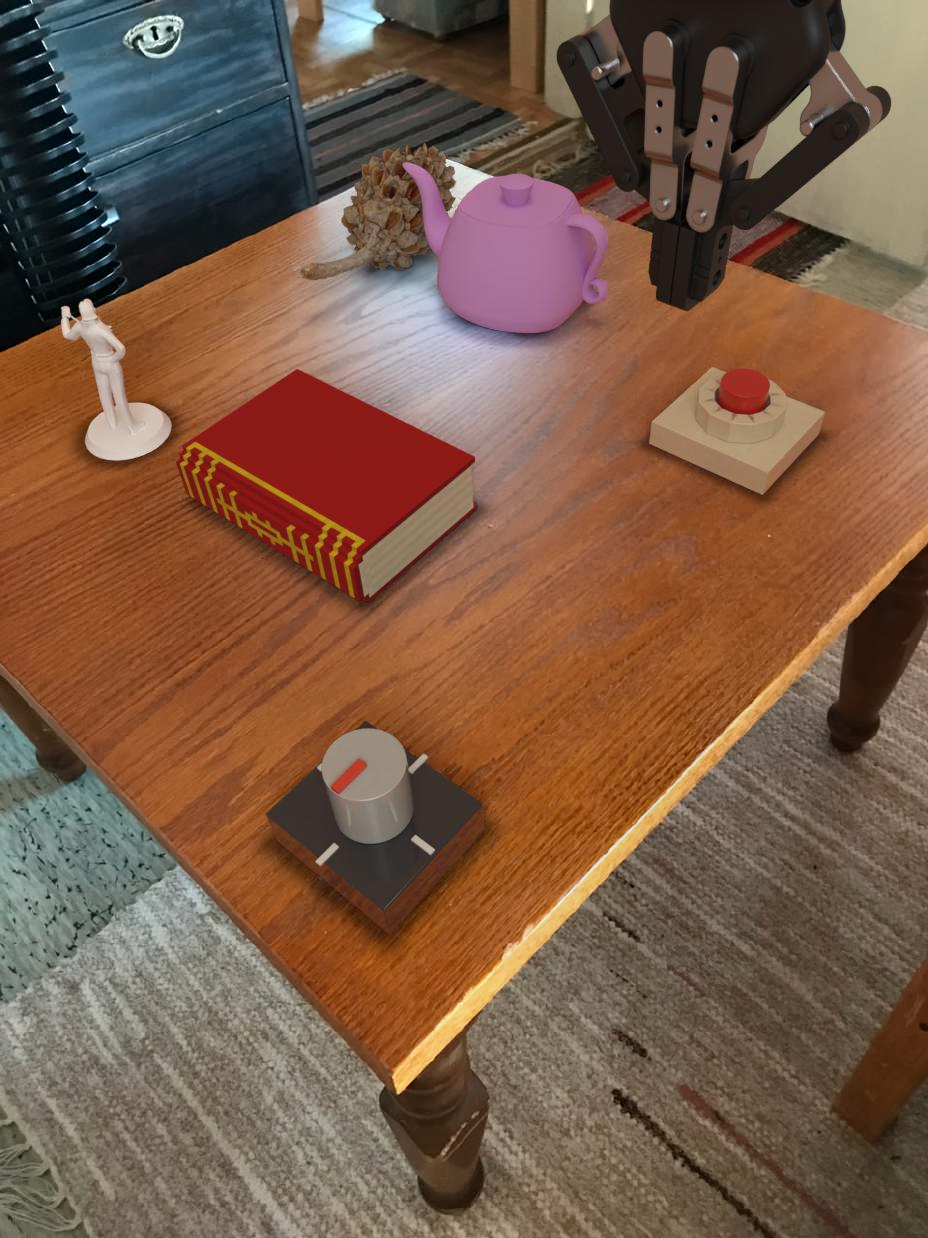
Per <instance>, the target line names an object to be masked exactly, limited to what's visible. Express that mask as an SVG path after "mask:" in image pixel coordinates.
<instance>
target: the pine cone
mask: <svg viewBox="0 0 928 1238" xmlns="http://www.w3.org/2000/svg"><path fill="white" fill-rule="evenodd" d="M439 151H440V148H436V146H434V145H431V146H430V147H429V148H428V147H427V144H426V142H425V141H424V142H423V143H422V146H419V147H417V149H415V150H413V152H412V151H411V147H410V145H409V143H408V144H406V147H405V150H403V151H402V149H401V147H398V148H397V149H396V150H394V151H393V150H392V149H390V148H386V149H383V151H382V154H381V155H382V157H381V158H379V157H377V156H374V155H372V156H371V158H370V160H369V162H368V163H362V164H361V180H359V181H357V182H355V183H354V190H355V192H356V195H350V200H351V203H352V204H351V205H348V206H345V207H343V214H342V217H341V219H340V222H341V224H342V225H343V227H345V228H346V230H347V232H348V233H349V236H347V237H346V241H347V242H348V244H350V245H352V246H354V249H353V251H356V252H354V253H352V254H350V255H348V256H346V257H342V258H340V259H337V260H333V261H328V262H324V263H323V262H311V263H310V264H308V263H304V262H303V263H301V264H300V265H298V266H297V267H296V268H295V269H293V270H292V271H293V272H295V271H299V270H300V271H299V273H298V275H297V277H298V278H301V279H305V280H309V281H318V280H326V279H328V278H334V277H337V276H339V275H342V274H343V273H344V274H345V273H347V272H350V271H353V270H354V269H357V268H359V267H361V266H364V265H365V264H367V263H371V265H372V266H373V268H375V270H377V269H379V270H381V271H383V272H384V271H385V270H387V267H388V266H391V267H393V268H395V269H396V270H398V271H401V272H402V271H403V270H404V268H409V267H411V265H412V264H413V258H412V256H418V255H419V256H420V255H426V254H427V253H428V250H429V249H431V248H430V246H429V244H428V241H427V239H426V235H425V231H424V223H423V209H422V201H421V195H420V192H419V189H418V187H417V185H416V183H415V181H414V179H413V178H412V177H411V176H410V175H409V173H408V172H407V171H406V170H405V169H404V168H403V165H402V164H403V163H406V162H407V163H412V164H415V165H418V166H420V167H422V168H423V169H425V170H426V171H427V172H428V173H429V174H430V175H431V176H432V178H433V179H434V181H435V183H436V185H437V187H438V190H439V193H440V196H441V199H442V202H443V205H444V208H445V210H446V212H447V213H448V212H450V210H451V209H453V205H454V203H455V201H456V199H457V197H455V196H453V194H452V192H451V189H453V188H455V186H456V183H457V180H456V179H455V178H454V175H456V169H455V167H454V166H453V165H448V166H447V165H446V164H447V161H446V160H447V157H446V155H445V154H441V155H440V154H439Z"/></svg>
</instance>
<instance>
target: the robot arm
mask: <svg viewBox="0 0 928 1238" xmlns="http://www.w3.org/2000/svg"><path fill="white" fill-rule="evenodd" d="M842 3H843V2H842V0H609V5H608V6H609V7H608V8H609V9H608V10H609V11H608V12H609V14H608V15H606V16H605V17H604V18H603V19H602V20H600V21H598V23H596V24H595V25H593V26H591V27H589V28H588V29H585V30H584V31H582V32H580V33H578V34H576V35H574V36H572V37H571V38H569V39H567V40H565V41H563V42H561V44H559V46H558V48H557V49H556V63H557V66H558V69H559V70H560V72H561V74H562V76H563V78H564V80H565V83H566V84H567V87H568V89H569V91H570V92H571V95H572V97H573V99H574V101H575V103H576V105H577V107H578V110H579V112H580V113H581V115H582V118H583V119H584V121H585V124H586V127H587V128H588V129H589V133H590V134H591V136H592V138H593V140H594V142H595V144H596V146H597V148H598V151H599V152H600V155H601V156H602V159H603V160H604V162H605V165H606V167H607V169H608V171H609V173H610V175H611V177H612V179H613V181H614V183H615V185H616V187H617V188H618V189H619V190H621V192H622V191H623V192H625V193H631V192H633V191H635V192H637V193H638V195H640V196H642V198H644V199H645V200H646V202H648V204H649V208H650V211H651V213H652V214H653V223H652V224H653V225H652V233H651V234H652V235H651V236H652V237H651V244H650V253H649V259H650V260H649V264H648V277H649V281H650V284H651V286H655V287H656V289H655V300H656V301H657V302H659V303H662V304H665V305H667V306H670V307H673V308H676V309H678V310H681V311H684V312H687V313H688V312H690V311H691V310H692V309H693V308H694V307H696V306H697V305H698V304H699V303H702V302H703V301H705V300H706V299H707V298H709V296H711V294H713V293H714V292H715V291H716V290H717V289H719V288H720V286H721V284H722V283H723V281H724V280H725V278H726V277H725V276H726V271H727V264H728V259H729V253H730V248H731V247H730V246H731V242H732V241H731V240H732V236H733V229H734V227H735V228H737V229H738V230H741V231H749V230H751V229H753V228H754V227H755V226H756V225H757V224H759V223H760V222H761V221H763V220H764V219H765V218H766V217H768V216H769V215H770V214H771V213H773V212H774V211H775V210H776V209H778V208H779V207H780V206H782V205H783V204H784V203H785V202H787V201H788V200H789V199H790V198H791V197H792V196H793V195H795V194H796V193H797V192H798V191H799V190H801V189H802V188H804V186H805V185H807V184H808V183H809V182H810V181H812V180H813V179H814V178H815V177H817V176H818V175H819V174H820V173H821V172H822V171H824V170H825V169H826V168H827V167H828V166H829V165H831V164H832V163H833V162H835V161H836V160H837V159H838V158H839V157H840V156H842V155H843V154H845V152H847V150H849V149H851V147H852V146H854V145H855V144H856V143H858V142H859V140H861V139H862V138H863V137H864V136H866V135H867V134H868V133H869V132H870V131H872V130H873V129H874V128H875V127H876V126H878V125H879V124H880V123H881V122H882V121H883V120H885V119H886V118H887V117H888V115H889V114H890V112H891V108H892V98H891V95H890V93H889V92H888V90H886V88H884V87H883V86H881V85H880V86H879V85H870V86H868V87H866V86H864V84H863V82H862V81H861V80H860V78H859V77H858V76H857V74H856V73H855V71H854V70H853V68H852V67H851V66H850V64H849V62H848V61H847V59H846V58H845V57H844V56H843V54H842V52H841V50H842V47H843V45H844V42H845V39H846V29H847V25H846V23H847V22H846V18H845V14H844V10H843V9H844V8H843V4H842ZM807 88H809V89H810V97H809V100H808V103H807V104H806V106H805V107H804V108H803V109H802V111H801V113H800V116H799V132H800V134H801V135H802V136H803V137H804V138H803V139H802V140H801V141H799V142H798V143H797V144H796V145H795V146H794V147H793V148H792V149H790V150H789V151H788V152H787V153H786V154H785V155H784V156H783V157H782V158H781V159H779V160H778V161H777V162H776V163H775V164H774V165H773V166H771V167H770V168H769V169H768V170H767V171H766V172H765V173H764V174H762V175H761V176H760V177H755V178H751V175H752V172H753V167H754V164H755V160H756V157H757V155H758V153H759V152H760V151H761V148H762V147H763V145H764V143H765V140H766V136H767V132H768V129H769V125H770V124H771V123H773V122H774V121H775V120H776V119H778V118H779V117H780V116H781V115H782V114H783V113H784V111H785V110H786V109H787V108H788V107H789V106H790V105H791V104H792V103H793V102H794V101H795V100H796V99H797V98H798V97H800V95H801V94H802V93H803V92H805V90H806V89H807Z"/></svg>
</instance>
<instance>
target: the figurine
mask: <svg viewBox="0 0 928 1238" xmlns="http://www.w3.org/2000/svg"><path fill="white" fill-rule="evenodd" d="M78 309H79V313H80V315H81V320H79V319H77V318H76V317H74V316H73V315H72V313H71V308H70V307H69V306H68V305H64V306H61V307H60V310H61V319H60V326H61V332H62V333H61V334H62V336H63V338H64V339H66V340H68V341H78V339H79V338H81V339H83V341H84V342H85V343H86V345H87V346H88V347H89V350H90V355H91V356H90V357H91V367H92V370H93V374H94V379H95V383H96V387H97V391H98V396H99V400H100V404H101V406H102V412H100V413H99V414H98V415H96V417H94V418H93V419H92V421H91V422H90V424H89V426H88V428H87V431H86V434H85V438H84V445H85V447H86V449H87V450H88V452H89V453H91V454H92V455H93V456H94V457H96V458H98V459H101V460H102V459H103V460H107V461H127V460H131V459H135V458H139V457H142V456H145V455H147V454H148V453H151V452H153V451H154V450H156V449H158V448H159V447H160V446H161V445H163V444H164V443H165V442H166V440H168V438H169V436H170V434H171V433H172V420H171V418H170V416H168V415H167V414H166V413H165V412H164V411H163V410H161V409H160V408H157V407H156V406H154V405H152V404H149V403H145V402H128V399H127V395H126V389H125V376H124V371H123V367H122V364H121V363H120V361H121V360H122V359H123V358H124V357H125V356H126V354H127V351H126V346H125V345H124V344H123V343H122V342H121V341H120V340H119V339H118V338H117V337H116V336H115V334H114V332H113V329H112V327H113V326H112V325H106V323H104V322H103V321H102V320H101V318H100V315H97V314H96V307H94V303H93V302H92V300H91V299H89V298H85V299H83V300H82V301H80V302H79V303H78ZM70 318H71V319H72V320H74V321H75V323H74V324H73V326H72V327H71V324H70ZM114 349H115V351H114ZM114 403H115V405H114Z"/></svg>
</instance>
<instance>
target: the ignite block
mask: <svg viewBox="0 0 928 1238" xmlns="http://www.w3.org/2000/svg"><path fill="white" fill-rule="evenodd" d="M725 373H727V372H726V371H724V370H721V369H719V368H716V367H715V366H712V367H710V368H709V369H708V370H707V371H706V372H704V373H703V374H702V375H701V376H700V377H698V379H697V380H696V381H694V382H693V383H692V384H691V385H690V386H689V387H688V388H687V389H686V390H685V391H683V392H682V393H681V394H680V395H679V396H678V397H677V398H676V399H675V400H673V402H672V403H670V404H669V405H667V407H666V408H665V409H664V410H663V411H661V413H659V414H658V415H657V416H656V417H655V418H654V419H653V420H652V421H651V424H650V432H649V441H648V444H649V445H651V446H653V447H655V448H657V449H660V450H662V451H664V452H666V453H669V454H671V455H674V456H675V457H677V458H680V459H682V460H684V461H686V462H689V463H691V464H693V465H694V466H697V467H699V468H701V469H703V470H706V471H708V472H710V473H712V474H715V475H717V476H719V477H722V478H724V479H726V480H728V481H731V482H733V483H735V484H736V485H740V486H741V487H744V488H746V489H748V490H751V491H752V492H755V493H757V494H759V495H762V496H763V495H764V494H765V493H766V492H767V491H768V490H769V489H770V488H771V487H772V485H774V483H775V482H776V481H777V480H778V479H779V478H781V476H782V475H783V474H784V473H785V472H786V470H787V469H788V468H789V467H790V466H791V465H792V464H794V462H795V460H797V459H798V457H800V455H801V454H802V453H803V452H804V451H805V450H806V449H807V448H808V447H809V446H810V445H811V443H812V442H813V441H814V440H815V439H816V438H817V437H818V436H819V435H820V432H821V428H822V425H823V421H824V418H825V415H826V411H824V410H822V409H819V408H817V407H814V406H812V405H810V404H806V403H805V402H802V401H799V400H796V399H794V398H792V397H789V396H787V395H786V392H785V391H784V390H783V389H782V388H781V387H780V386H779V385H778V384H777V383H776V382H775V381H773V380H772V379H769V378H768V380H769V382H770V389H769V393H768V397H767V402H766V406H765V408H764V409H763V410H762V411H761V412H759V413H755V414H752V415H744V414H734V413H732V412H729V411H727V410H725V409H722V408H721V407H720V405H719V403H718V394H719V388H720V383H721V378H722V377H723V375H724V374H725Z"/></svg>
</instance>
